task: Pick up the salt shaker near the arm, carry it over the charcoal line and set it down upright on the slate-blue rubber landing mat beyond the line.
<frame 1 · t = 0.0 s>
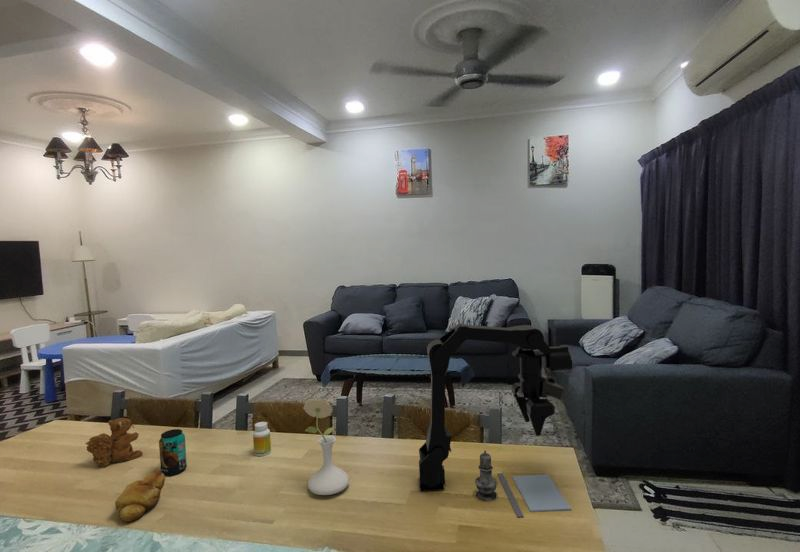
hand: (532, 428, 116), 15 cm above the table, tool pointing down, fingers open, 9 cm apart
beverage can: (174, 471, 130), on the table
stuffed squirrel: (115, 461, 139), on the table
flower in vase: (326, 488, 118), on the table
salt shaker: (486, 495, 111), on the table
supplement bottle: (262, 453, 141), on the table
bread roll: (137, 511, 110), on the table
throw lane: (528, 493, 111), on the table
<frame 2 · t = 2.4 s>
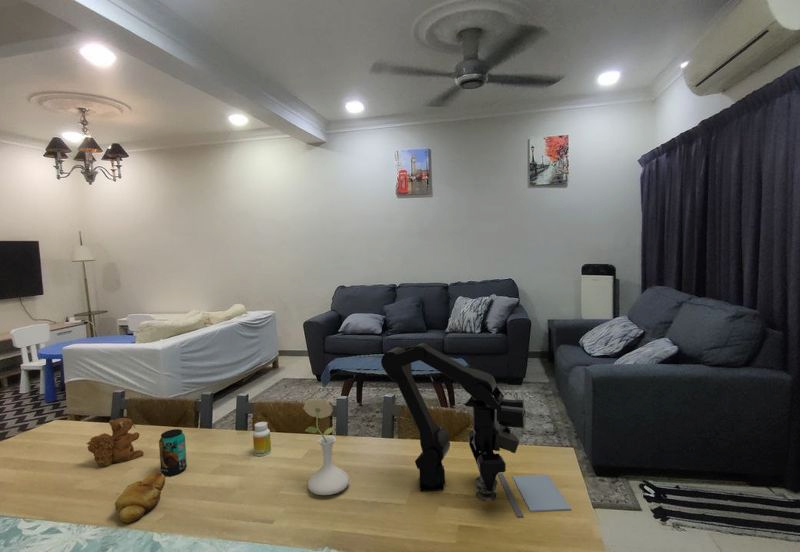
hand: (486, 481, 111), 4 cm above the table, tool pointing down, fingers closed on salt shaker, 8 cm apart
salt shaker: (486, 495, 111), on the table, touching gripper
everything else where it was.
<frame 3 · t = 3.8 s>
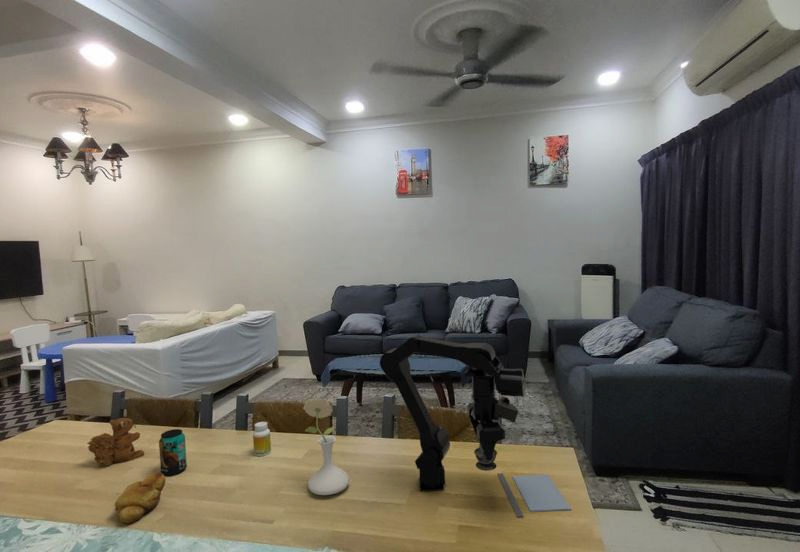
hand: (485, 452, 110), 11 cm above the table, tool pointing down, fingers closed on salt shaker, 8 cm apart
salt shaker: (486, 466, 111), point 8 cm above the table, touching gripper
everything else where it was.
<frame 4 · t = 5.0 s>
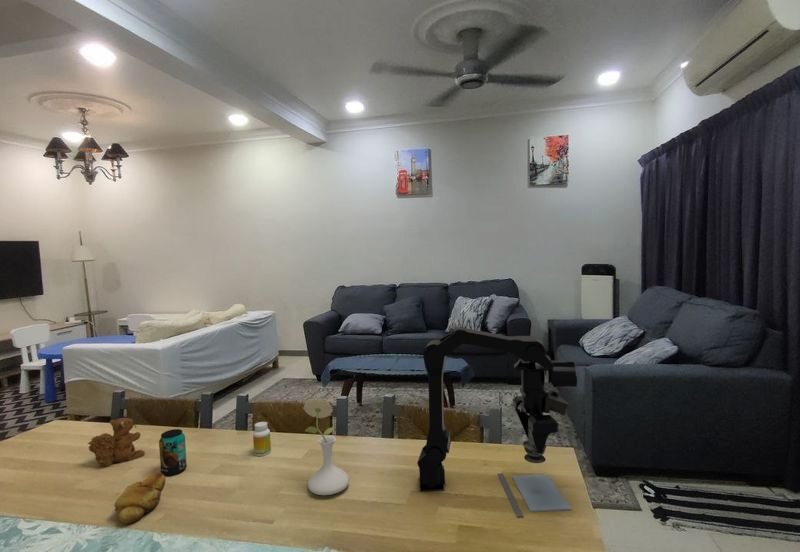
hand: (534, 445, 110), 13 cm above the table, tool pointing down, fingers closed on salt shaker, 8 cm apart
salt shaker: (534, 459, 111), point 9 cm above the table, touching gripper
everything else where it was.
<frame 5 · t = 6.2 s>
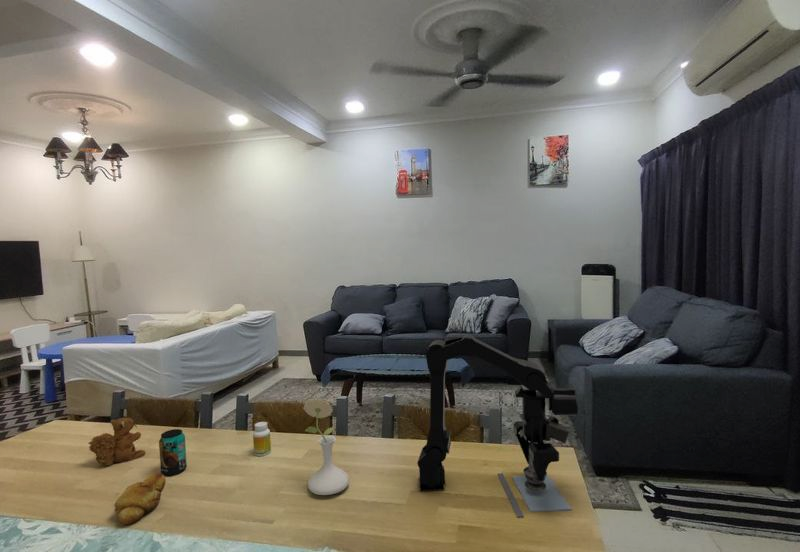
hand: (535, 472, 111), 6 cm above the table, tool pointing down, fingers closed on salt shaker, 8 cm apart
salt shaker: (535, 485, 111), point 2 cm above the table, touching gripper
when the fingers open (5 cm above the table, at t = 7.5 s): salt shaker drops 1 cm, resting on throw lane.
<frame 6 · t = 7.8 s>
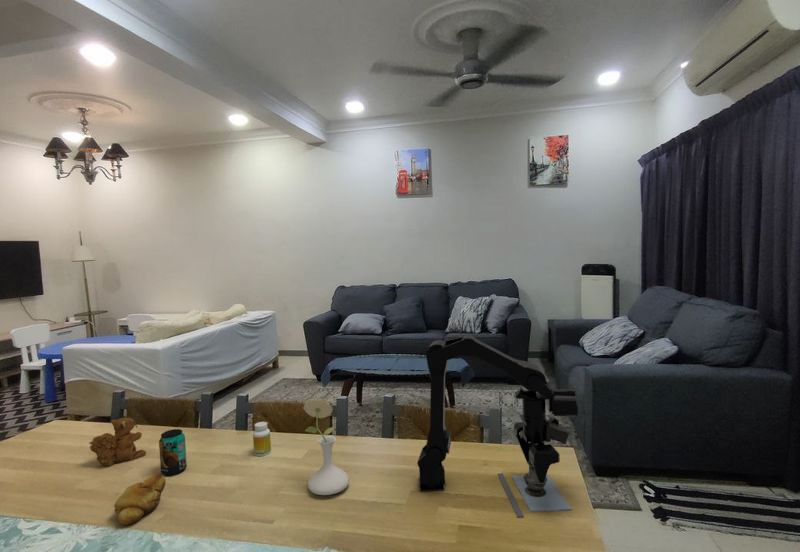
hand: (535, 473, 111), 5 cm above the table, tool pointing down, fingers open, 9 cm apart
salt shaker: (535, 492, 111), resting on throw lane
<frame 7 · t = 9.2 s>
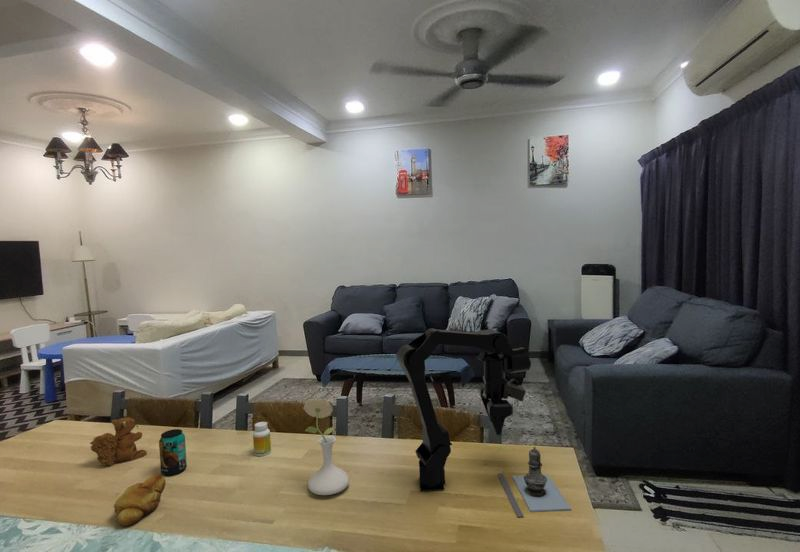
hand: (495, 428, 122), 13 cm above the table, tool pointing down, fingers open, 9 cm apart
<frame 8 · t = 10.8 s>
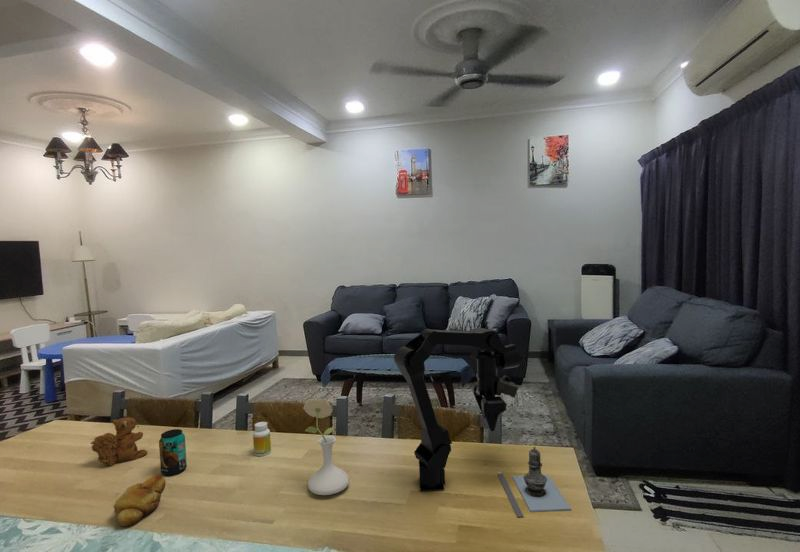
hand: (488, 424, 124), 13 cm above the table, tool pointing down, fingers open, 9 cm apart
at the end: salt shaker inside the target area (1.1 cm from its centre), resting on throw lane; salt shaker tilted 0°; the gripper is holding nothing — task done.
